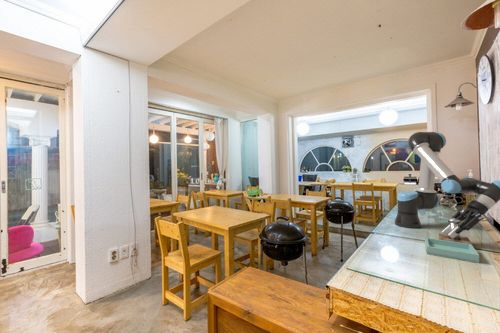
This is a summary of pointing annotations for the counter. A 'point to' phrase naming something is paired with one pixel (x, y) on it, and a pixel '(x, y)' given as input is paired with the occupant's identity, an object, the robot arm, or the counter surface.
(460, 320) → the counter surface
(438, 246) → the tray
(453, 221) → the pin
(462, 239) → the holder
